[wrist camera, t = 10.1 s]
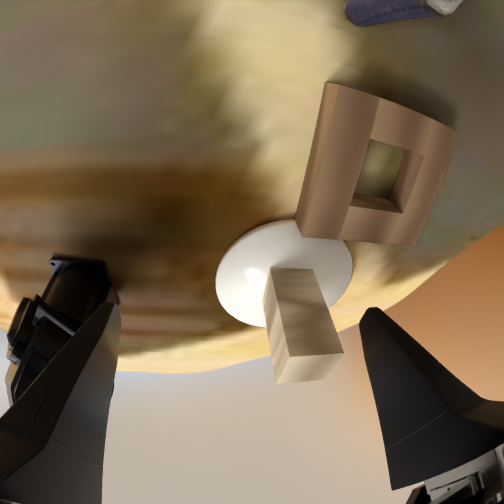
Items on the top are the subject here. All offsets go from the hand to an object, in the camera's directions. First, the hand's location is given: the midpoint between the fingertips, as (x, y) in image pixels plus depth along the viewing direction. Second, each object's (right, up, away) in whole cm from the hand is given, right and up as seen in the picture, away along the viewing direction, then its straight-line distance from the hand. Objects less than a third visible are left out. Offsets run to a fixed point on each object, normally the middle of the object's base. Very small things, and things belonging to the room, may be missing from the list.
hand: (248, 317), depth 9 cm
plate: (+3, 0, +17) cm, 17 cm away
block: (+3, -1, +17) cm, 17 cm away
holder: (+10, +9, +11) cm, 17 cm away
